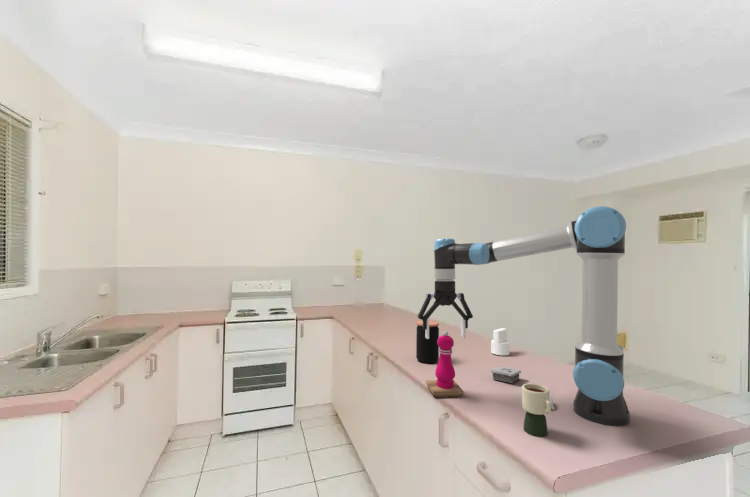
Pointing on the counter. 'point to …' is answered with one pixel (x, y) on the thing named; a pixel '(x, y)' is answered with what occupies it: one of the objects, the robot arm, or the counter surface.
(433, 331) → the coffee jar
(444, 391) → the walnut stand
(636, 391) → the counter surface
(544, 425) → the character mug
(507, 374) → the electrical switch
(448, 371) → the pepper mill
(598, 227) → the robot arm
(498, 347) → the cylinder with rectangular tab
